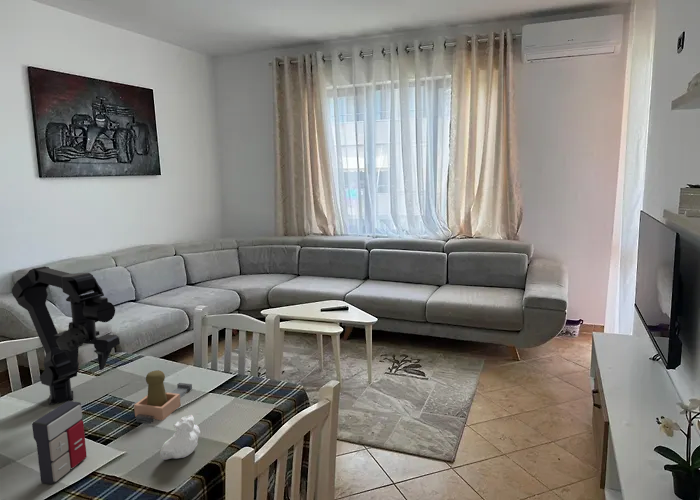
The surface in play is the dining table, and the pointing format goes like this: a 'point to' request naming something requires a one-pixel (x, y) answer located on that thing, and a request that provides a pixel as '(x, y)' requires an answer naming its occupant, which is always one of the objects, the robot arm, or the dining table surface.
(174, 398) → the tray
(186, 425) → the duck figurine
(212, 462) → the dining table surface
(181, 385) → the rail
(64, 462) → the calculator
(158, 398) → the cork
